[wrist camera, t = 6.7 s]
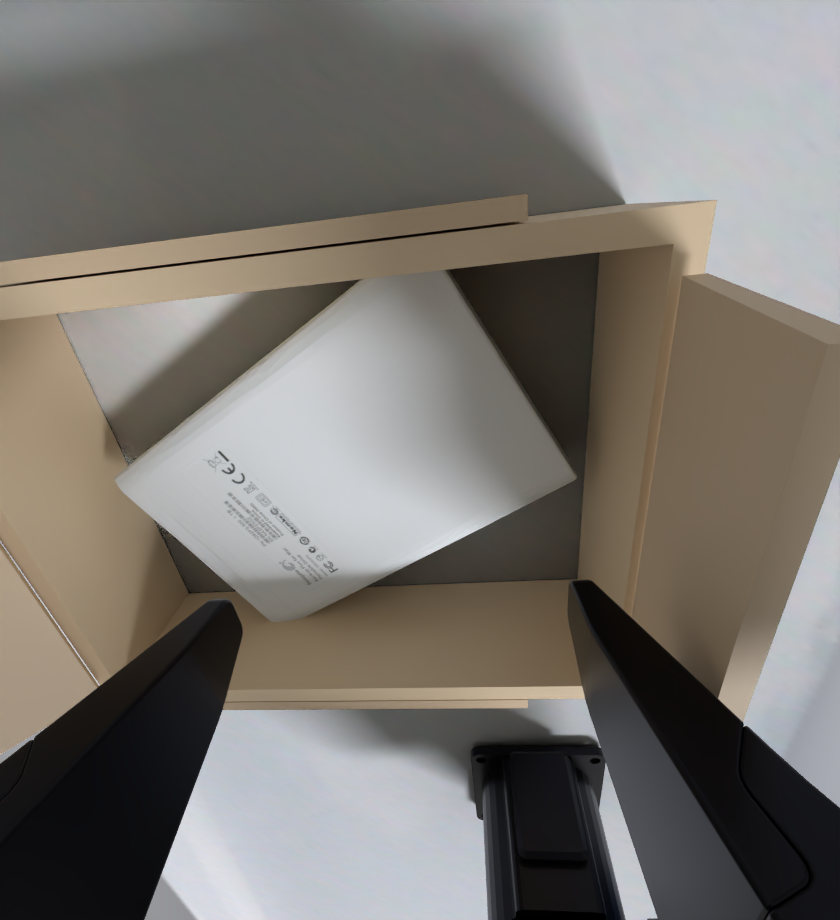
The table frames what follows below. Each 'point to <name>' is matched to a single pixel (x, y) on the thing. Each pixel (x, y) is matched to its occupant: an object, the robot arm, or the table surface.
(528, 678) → the carton
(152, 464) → the external hard drive
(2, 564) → the flap
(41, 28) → the table surface
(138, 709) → the robot arm
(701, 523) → the flap
